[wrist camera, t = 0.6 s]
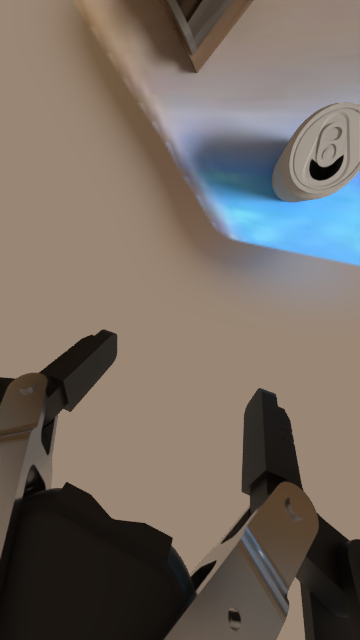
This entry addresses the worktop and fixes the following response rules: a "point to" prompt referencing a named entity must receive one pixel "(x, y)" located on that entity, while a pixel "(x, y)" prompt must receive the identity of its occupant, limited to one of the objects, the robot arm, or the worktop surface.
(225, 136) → the worktop surface
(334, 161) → the beverage can
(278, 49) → the worktop surface
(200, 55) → the wooden compartment tray
